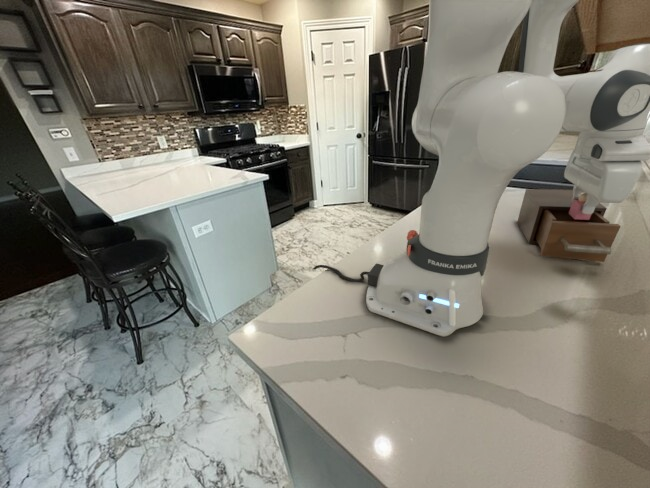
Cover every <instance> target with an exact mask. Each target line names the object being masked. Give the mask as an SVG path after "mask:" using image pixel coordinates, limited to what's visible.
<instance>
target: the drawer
mask: <svg viewBox="0 0 650 488" xmlns="http://www.w3.org/2000/svg"><path fill="white" fill-rule="evenodd" d="M569 211H570V210H555V209H543V210H542V213H541V217H540V220H539V223H538V226H537V230H536V233H535V236H534V237H535V239H536V241H537V242H538V244H537V245H538V246H539V247H540V252H539V254H540V256H541V257H547V258H558V259H568V260H580V261H588V262H589V261H590V262H600V263H601V262H602V263H604V262H605V261H606V258H607V257H608V255H610V254H612V246H613V244H614V242H615V239H616V238H617V236H618V233H619V231H620V229H621V225H620V224H619V223H610V221H609V220H608V219H607V218H606V217H604V216H601V215H600V214H599V213H598V212H596V211H594V212H593V213H592V214H591V217H590V219H589V220H580V219H574V218H573V217H572V216H571V215H570V214H569Z"/></svg>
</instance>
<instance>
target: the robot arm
mask: <svg viewBox="0 0 650 488" xmlns="http://www.w3.org/2000/svg"><path fill="white" fill-rule="evenodd" d="M579 1H580V0H428V30H427V39H426V40H427V41H426V49H425V55H424V61H423V68H422V73H421V80H420V84H419V85H420V86H419V92H418V99H417V104H416V107H415V108H414V111H413V113H412V118H411V130H412V134H413V135H414V138H415V139H416V140H417V142H418V143H419V144H420V146H421V147H422V148H423V149H424V150H426V151H427V152H428V153H431V154H433V155H436V156H438V165H437V169H436V172H435V175H434V177H433V181H432V184H431V186H430V188H429V190H428V191H427V192H425V193H424V195H423V197H422V199H421V205H420V206H421V207H420V220H419V230H418V231H419V233H418V232H417V230H415V229H410V230H409V231H408V232H407V236H406V240H407V243H406V251H403V252H402V253H400V254H398V255H395V256H393V257H391V258H389V259H388V260H386V261H385V263H384V264H381V263H378V262H377V263H375V264H374V265H373V267H372V268H371V269H370V271H362V272H360V275H359V276H360V278H352V277H349V276H346V275H344V274H343V273H342V272H341V271H340V270H338V269H336V268H335V267H332V266H329V265H325V264H318V265H314V267H313V268H312V269H313V270H317V269H319V268H320V269H321V268H323V269H327V270H330V271H333V272H334V273H337V274H338V276H339V277H340V278H342V279H343V280H346V281H349V282H351V283H352V282H353V283H361V282H363V281H364V280H365V276H366V275H367V285H368V287H367V290H366V296H365V297H366V298H365V303H366V307H367V309H368V310H369V312H371V313H374V314H376V315H379V316H382V317H384V318H388V319H391V320H394V321H396V322H400V323H402V324H405V325H408V326H410V327H413V328H416V329H419V330H422V331H426V332H428V333H431V334H434V335H437V336H439V337H448V336H450V335H452V334H453V333H454V332H456V331H457V330H459V329H463V328H466V327H470V326H473V325H475V324H476V323H478V322H479V321H480V320H481V318H482V317H483V314H484V305H483V299H482V280H483V279H482V278H483V276H484V275H485V272H486V270H487V266H488V262H489V257H490V245H489V244H490V243H489V238H490V234H491V231H492V227H493V222H494V218H495V214H496V210H497V209H498V205H499V202H500V200H501V198H502V195H503V194H504V192H505V190H506V189H507V187H508V185H510V182H511V181H512V180H513V179H514V177H515V176H516V175H517V174H518V173H519V172H520V171H521V170H522V169H523V168H526V167H527V166H529V165H531V164H532V163H534V162H535V161H537V160H538V159H539V158H541V157H542V156H543V155H544V154H545V153H546V152H547V151H548V150H549V149H550V148H551V146H553V144H554V143H555V142H556V140H557V138H558V136H559V135H560V133H561V132H562V133H579V134H578V138H577V140H576V143H575V146H574V149H573V151H572V152H571V154H570V156H569V158H568V161H567V164H566V167H565V168H564V172H563V177H564V178H565V179H566V180H567V181H569V182H570V183H572V185H573V187H572V190H573V199H572V201H571V203H572V202H573V200H579V196H580V195H581V194H584V193H587V194H588V195H587V201H586V202H585V204H582V206H581V209H580V211H581V212H582V213H583V214H592V213H593V212H594V210H595V207H596V206H597V205H598V204H599V203H600V204H602V203H603V204H604V203H605V204H621V203H623V202H624V201H625V200H627V199H628V198H629V196H630V195H631V193H632V191H633V189H634V188H635V186H636V183H637V182H638V179H639V177H640V175H641V172H642V169H643V162H645V161H648V160H649V159H650V144H649V142H648V141H647V139H646V136H645V135H644V133H645V130H646V128H647V125H648V116H649V113H650V42H639V43H633V44H629V45H626V46H622V47H619V48H616V49H615V50H613V51H612V52H611V53H610V55H609V56H608V57H607V60H606V62H605V64H604V65H602V66H601V67H599V68H598V69H595V71H591V72H590V71H589V72H586V73H585V72H584V73H578V74H569V75H558V74H556V72H555V71H554V66H555V60H556V56H557V55H556V54H557V50H558V43H559V38H560V37H559V36H560V31H561V27H562V24H563V22H564V20H565V17H566V16H567V14H568V13H569V12H570V10H571V9H572V8H573V7H574V6H575V5H576V4H577V3H578V2H579ZM521 23H522V30H521V39H520V49H519V50H520V52H519V61H518V70H517V71H513V70H511V71H510V70H509V71H507V70H506V71H501V72H499V69H500V67H501V63H502V60H503V58H504V55H505V52H506V49H507V47H508V45H509V43H510V40H511V39H512V37H513V35H514V33H515V31H516V29H517V28H518V27H519V25H520V24H521ZM364 275H365V276H364Z"/></svg>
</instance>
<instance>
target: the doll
mask: <svg viewBox="0 0 650 488" xmlns="http://www.w3.org/2000/svg"><path fill="white" fill-rule="evenodd" d="M587 195H588V194H587V193H586V192H585V193H584V194H581V195H580V196H579V200H573V202H572V205H571V208H570V211H569V214H570V215H571V216H572V217H573V218H574V219H580V220H589V219H590V217H591V214H583V213H582V212H581V211H580V209H581V206H582V204H585V202H586V201H587Z"/></svg>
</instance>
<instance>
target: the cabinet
mask: <svg viewBox="0 0 650 488" xmlns="http://www.w3.org/2000/svg"><path fill="white" fill-rule="evenodd" d="M572 199H573V189H547V188H544V189H543V188H542V189H541V188H537V189H536V188H526V189H525V191H524V195H523V199H522V202H521V205H520V206H521V207H520V210H519V213H518V217H517V221H516V222H517V225H518V226H519V228H520V230H521V232H522V234H523V235H524V237H525V239H526V242H527V243H528V244H530V245H539V244H538V242H537V241H536V239H535V237H534V236H535V233H536V230H537V226H538V223H539V220H540V217H541V213H542V210H543V209H555V210H570V208H571V205H572V203H571V201H572ZM594 211H596V212H598V213H599V214H600V215H601V216H603V217H604V216H605V214H606V211H607V207H606V206H604V205H603V204H602V203H601V202H600V203H599V204H598V205H597V206H596V207H595V210H594Z"/></svg>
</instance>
